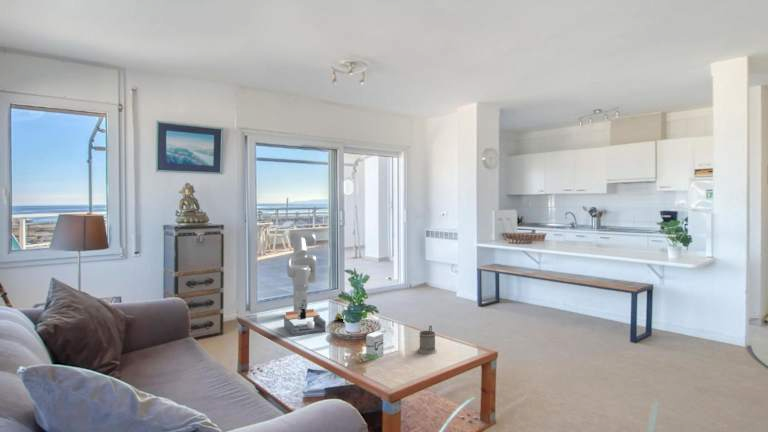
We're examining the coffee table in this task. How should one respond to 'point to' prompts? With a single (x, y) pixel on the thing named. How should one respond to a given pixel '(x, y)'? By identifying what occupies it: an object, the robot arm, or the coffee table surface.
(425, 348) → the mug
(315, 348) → the coffee table surface
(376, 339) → the ink box
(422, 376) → the coffee table surface
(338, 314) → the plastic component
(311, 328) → the housing
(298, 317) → the peg
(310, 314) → the lid
